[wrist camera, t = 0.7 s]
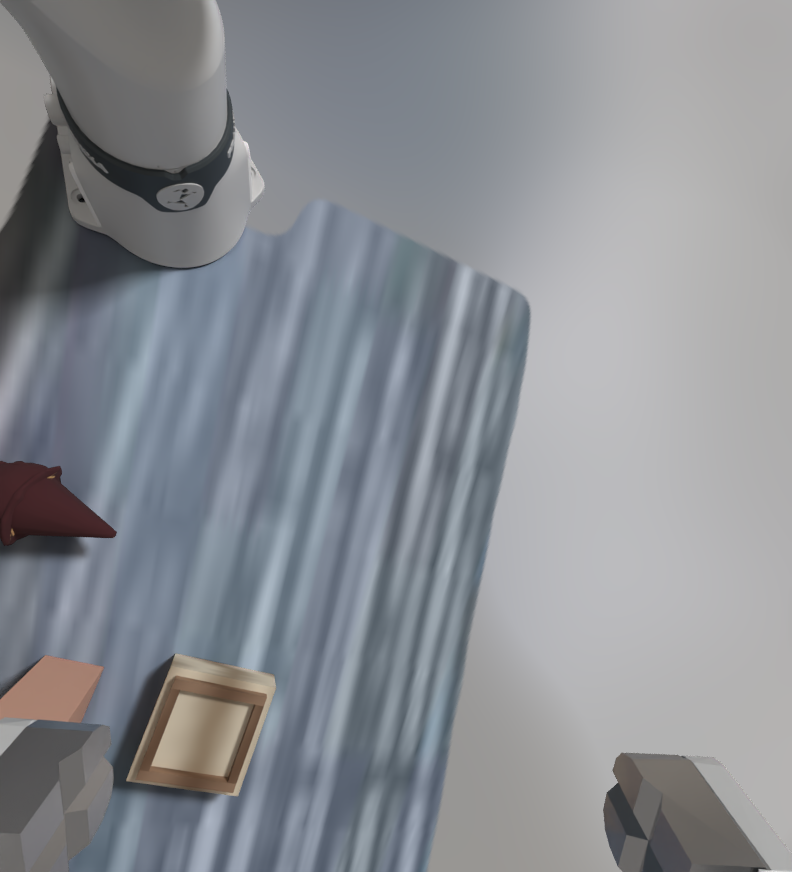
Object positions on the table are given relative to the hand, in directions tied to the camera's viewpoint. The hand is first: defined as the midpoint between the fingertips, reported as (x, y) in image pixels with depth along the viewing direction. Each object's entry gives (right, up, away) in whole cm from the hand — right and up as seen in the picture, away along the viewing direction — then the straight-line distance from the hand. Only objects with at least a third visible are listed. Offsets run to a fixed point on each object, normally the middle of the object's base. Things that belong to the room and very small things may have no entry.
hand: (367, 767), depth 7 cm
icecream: (-32, -1, +35) cm, 48 cm away
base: (-18, -22, +38) cm, 48 cm away
